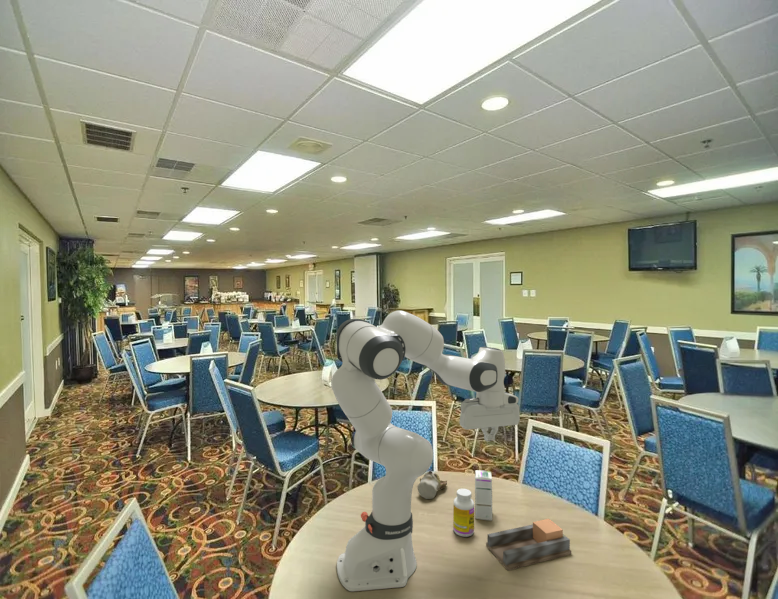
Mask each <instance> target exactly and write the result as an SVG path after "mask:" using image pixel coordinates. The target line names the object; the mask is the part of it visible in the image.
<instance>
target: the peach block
mask: <svg viewBox="0 0 778 599" xmlns="http://www.w3.org/2000/svg"><path fill="white" fill-rule="evenodd" d="M532 524H533V539H534V540H536V541H537V542H538V543H540V542H545V541H549V540H553V539H557V538H562V537H563V534H564V531H563V528H561V527H560V526H559V525H558V524H556V523H555V522H554V521H552V520H551V519H550V518H545V519H540V520H535V521H532Z"/></svg>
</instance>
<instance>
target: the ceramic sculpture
mask: <svg viewBox="0 0 778 599" xmlns="http://www.w3.org/2000/svg"><path fill="white" fill-rule="evenodd" d="M447 485H448V480H441V479H440V477H439V474H438V473H437V472H434V471H431V470H430V471H426V472H425V473H424V474H423V477H420V478H419V484H418V485H417V487H416V488H417V492H418V494H419V496H420V497H422V498H424V499H425V500H431V499H434V498H435V496H436V495H437V492H438V491H439V490H442V489H445V488H446V487H447Z"/></svg>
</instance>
